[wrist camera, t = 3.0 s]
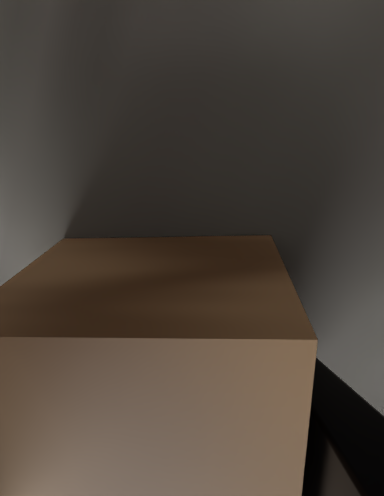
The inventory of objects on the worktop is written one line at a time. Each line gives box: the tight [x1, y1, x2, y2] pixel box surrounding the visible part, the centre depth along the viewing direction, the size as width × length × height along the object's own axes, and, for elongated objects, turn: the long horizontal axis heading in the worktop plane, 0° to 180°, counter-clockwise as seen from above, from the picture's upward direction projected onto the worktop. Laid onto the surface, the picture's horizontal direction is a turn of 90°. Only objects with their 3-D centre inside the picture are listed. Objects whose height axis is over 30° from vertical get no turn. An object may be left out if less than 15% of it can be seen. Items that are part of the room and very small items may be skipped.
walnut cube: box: [0, 235, 318, 496], centre depth 7 cm, size 5×5×4 cm
